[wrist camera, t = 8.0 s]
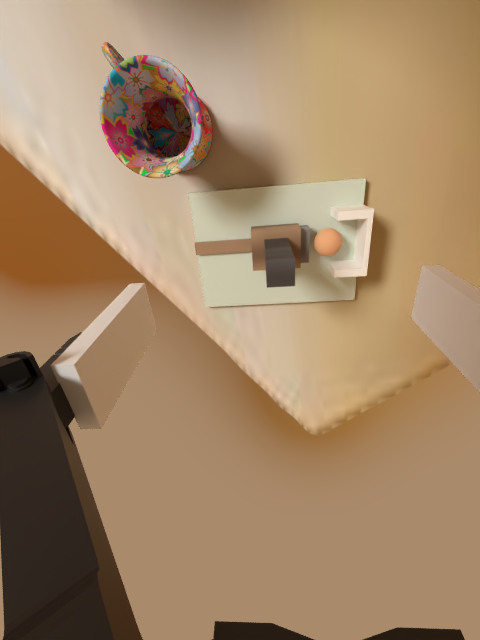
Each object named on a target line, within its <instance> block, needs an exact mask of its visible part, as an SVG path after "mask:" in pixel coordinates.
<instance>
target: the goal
mask: <svg viewBox="0 0 480 640" xmlns="http://www.w3.org/2000/svg"><path fill="white" fill-rule="evenodd" d="M373 215H374V209H373V208H370V207H368V206H365V205H354V206H341V207H331V216H332V217H333V218H335V219H336V220H337V221H340V220H354V219H357V228H356V240H355V251H354V260H338V261H328V269H329V271H330V272H331V274H332V275H333V277H334V278H338V277H356V276H367V268H368V259H369V250H370V241H371V232H372V224H373Z"/></svg>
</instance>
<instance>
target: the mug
mask: <svg viewBox="0 0 480 640" xmlns="http://www.w3.org/2000/svg"><path fill="white" fill-rule="evenodd" d="M102 51H103V53H104V55H105V57H106V58H107V60H108V61H109V63H110V64H111V66H112V67H113V68H114V69H113V70H112V72H111V73H110V74H109V76H108V78H107V79H106V81H105V84H104V86H103V89H102V93H101V98H100V119H101V125H102V129H103V132H104V135H105V138H106V140H107V142H108V144H109V146H110V148H111V149H112V151H113V152H114V154H115V155H116V156H117V158H118V159H119V160H120V161H121V162H122V163H123V164H124V165H125V166H127V167H128V168H129V169H131V170H132V171H134V172H136V173H138V174H140V175H143V176H146V177H150V178H165V177H169V176H172V175H175V174H177V173H178V172H180V171H187V170H190V169H192V168H194V167H196V166H197V165H199V164H200V163H201V162H202V161H203V160H204V158H205V157H206V155H207V154H208V151H209V149H210V146H211V142H212V124H211V119H210V116H209V113H208V111H207V109H206V107H205V106H204V104H203V103H202V101H201V100H200V99H199V98H198V97H197V95H196V93H195V91H194V89H193V87H192V85H191V84H190V82H189V81H188V79H187V78H186V77H185V76H184V74H183V73H182V72H181V71H180V70H179V69H177V68H176V67H175V66H174V65H172V64H171V63H169V62H168V61H166V60H164V59H161V58H159V57H155V56H150V55H139V56H134V57H131V58H128V59H126V60H124V59H123V58H122V56H121V55H120V54H119V53H118V52H117V51H116V50H115V49H114V47H113V46H112V45H110V44H109V43H108V42H105V43H104V44H103V45H102Z"/></svg>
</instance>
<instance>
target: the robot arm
mask: <svg viewBox="0 0 480 640" xmlns="http://www.w3.org/2000/svg"><path fill="white" fill-rule="evenodd" d="M411 319H412V320H413V321H414V322H415V323H416V324H417V326H418V327H419V328H420V329H421V330H422V331H423V332H424V333H425V334H426V335H427V336H428V337H429V338H430V340H431V341H432V342H433V343H434V344H435V345H436V346H437V347H438V348H439V349H440V350H441V351H442V352H443V354H444V355H445V356H446V357H447V358H448V359H449V360H450V361H451V362H452V363H453V364H454V365H455V366H456V367H457V369H458V370H459V371H460V372H461V373H462V374H463V375H464V376H465V377H466V378H467V379H468V381H469V382H470V383H471V384H472V385H473V386H474V387H475V388H476V389H477V390H478V391H479V392H480V289H478V288H477V287H475V286H474V285H472V284H470V283H469V282H467V281H465V280H464V279H462V278H461V277H459V276H457V275H456V274H454V273H452V272H451V271H449V270H447V269H446V268H444V267H443V266H441V265H424V266H422V268H421V272H420V277H419V282H418V287H417V292H416V296H415V301H414V306H413V311H412V316H411ZM156 331H157V330H156V326H155V322H154V318H153V314H152V310H151V306H150V302H149V298H148V294H147V290H146V286H145V283H139V284H129V285H128V286H127V287H126V288H125V289H124V290H123V291H122V292H121V294H120V295H119V296H118V297H117V298H116V299H115V300H114V301H113V302H112V303H111V304H110V305H109V306H108V307H107V308H106V309H105V310H104V311H103V312H102V313H101V314H100V315H99V316H98V317H97V318H96V319H95V320H94V321H93V322H92V323H91V324H90V325H89V327H87V328H86V329H85V330H84V331H83V332H80V333H79V334H77V335H75V336H74V337H72V338H70V339H69V340H68V341H67V342H66V343H65V344H64V345H63V346H62V347H61V348H60V349H59V350H58V351H57V352H56V353H55V355H53V356H52V357H51V358H50V359H49V360H48V361H47V362H46V363H45V364H44V365H43V366H42V367H41V368H39V366H38V364H37V362H36V361H35V358H34V356H33V355H32V354H31V353H30V352H25V351H24V352H15V353H12V354H8V355H5V356H3V357H0V535H1V555H2V556H1V558H2V581H3V603H4V637H3V640H143V639H142V637H141V635H140V632H139V629H138V626H137V623H136V621H135V618H134V615H133V612H132V609H131V606H130V603H129V600H128V597H127V594H126V591H125V588H124V585H123V582H122V579H121V576H120V573H119V571H118V568H117V565H116V562H115V559H114V556H113V553H112V550H111V547H110V544H109V541H108V538H107V535H106V532H105V529H104V527H103V523H102V521H101V518H100V515H99V512H98V509H97V506H96V503H95V500H94V497H93V494H92V491H91V488H90V485H89V482H88V480H87V477H86V474H85V471H84V468H83V465H82V462H81V459H80V456H79V453H78V450H77V447H76V444H75V441H74V438H73V436H72V433H71V431H70V429H69V427H68V425H69V424H70V423H71V421H72V420H73V418H74V417H75V419H76V421H77V423H78V425H79V427H80V429H101V428H102V426H103V425H104V423H105V421H106V419H107V418H108V416H109V414H110V412H111V411H112V409H113V407H114V405H115V403H116V402H117V400H118V398H119V397H120V395H121V393H122V391H123V389H124V388H125V386H126V384H127V382H128V380H129V379H130V377H131V375H132V374H133V372H134V370H135V368H136V366H137V365H138V363H139V361H140V359H141V358H142V356H143V354H144V352H145V351H146V349H147V347H148V345H149V344H150V342H151V340H152V338H153V336H154V335H155V333H156ZM212 640H313V639H311V638H308V637H306V636H303V635H301V634H298V633H296V632H293V631H291V630H288V629H285V628H283V627H280V626H278V625H275V624H273V623H249V622H248V623H247V622H219V621H215V627H214V639H212ZM364 640H465V639H464V637H463V635H462V632H461V630H455V629H425V628H395V629H392V630H389V631H386V632H383V633H381V634H378V635H375V636H372V637H369V638H367V639H364Z"/></svg>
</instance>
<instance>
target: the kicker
mask: <svg viewBox="0 0 480 640" xmlns="http://www.w3.org/2000/svg"><path fill="white" fill-rule="evenodd" d="M309 239H310V227H309V226H308V225H301V226H300V225H299V224H298V223H293V224H279V225H266V226H252V227H251V245H252V261H253V271H260V270H266V283H267V288H269V287H288V286H295V268H301V263H309Z"/></svg>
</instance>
